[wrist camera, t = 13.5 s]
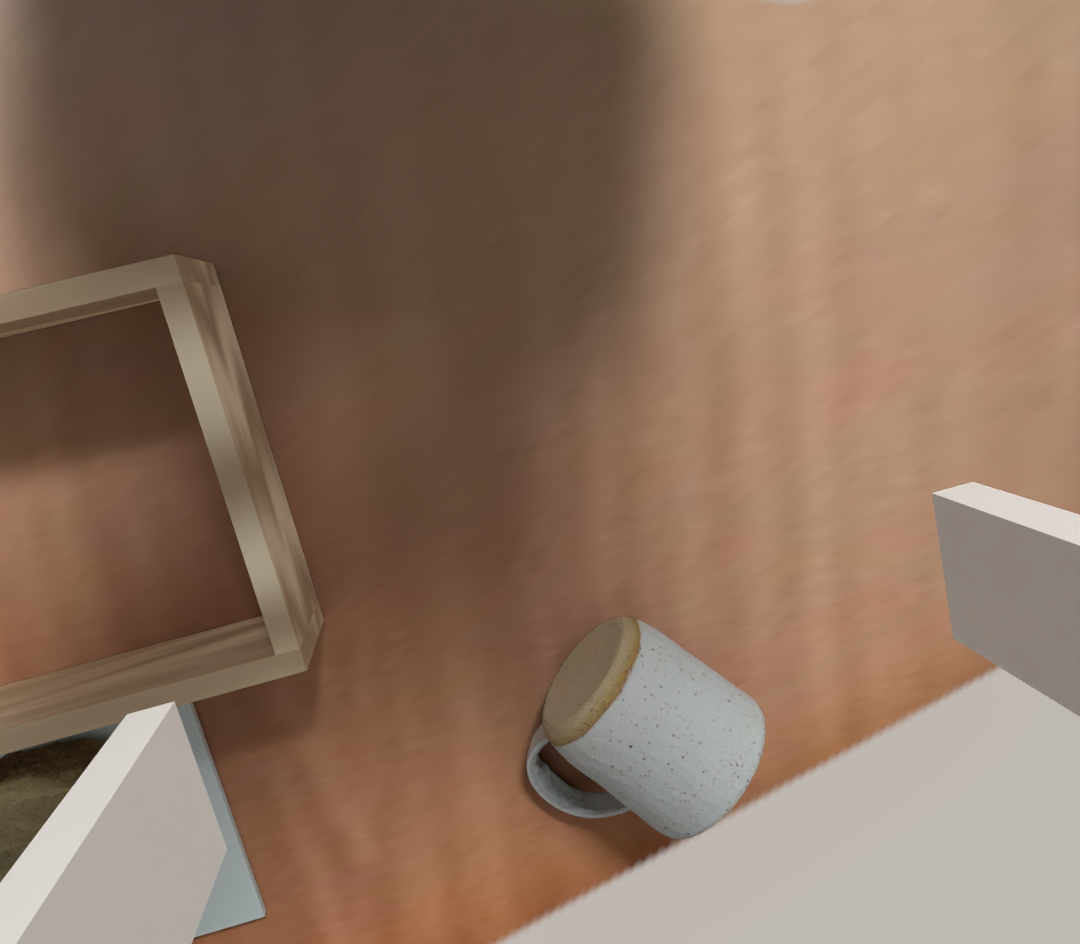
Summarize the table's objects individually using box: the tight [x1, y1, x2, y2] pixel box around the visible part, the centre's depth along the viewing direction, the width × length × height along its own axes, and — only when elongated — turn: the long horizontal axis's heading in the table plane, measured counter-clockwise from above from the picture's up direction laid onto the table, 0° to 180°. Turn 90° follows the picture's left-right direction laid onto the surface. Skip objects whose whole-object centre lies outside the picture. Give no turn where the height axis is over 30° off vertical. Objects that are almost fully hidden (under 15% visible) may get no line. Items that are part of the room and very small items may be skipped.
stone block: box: [0, 738, 107, 883], centre depth 39 cm, size 6×12×5 cm, turn 8°
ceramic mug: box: [526, 616, 766, 839], centre depth 40 cm, size 11×8×8 cm
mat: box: [0, 702, 266, 938], centre depth 41 cm, size 13×13×1 cm
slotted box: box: [0, 254, 324, 755], centre depth 35 cm, size 17×21×6 cm
